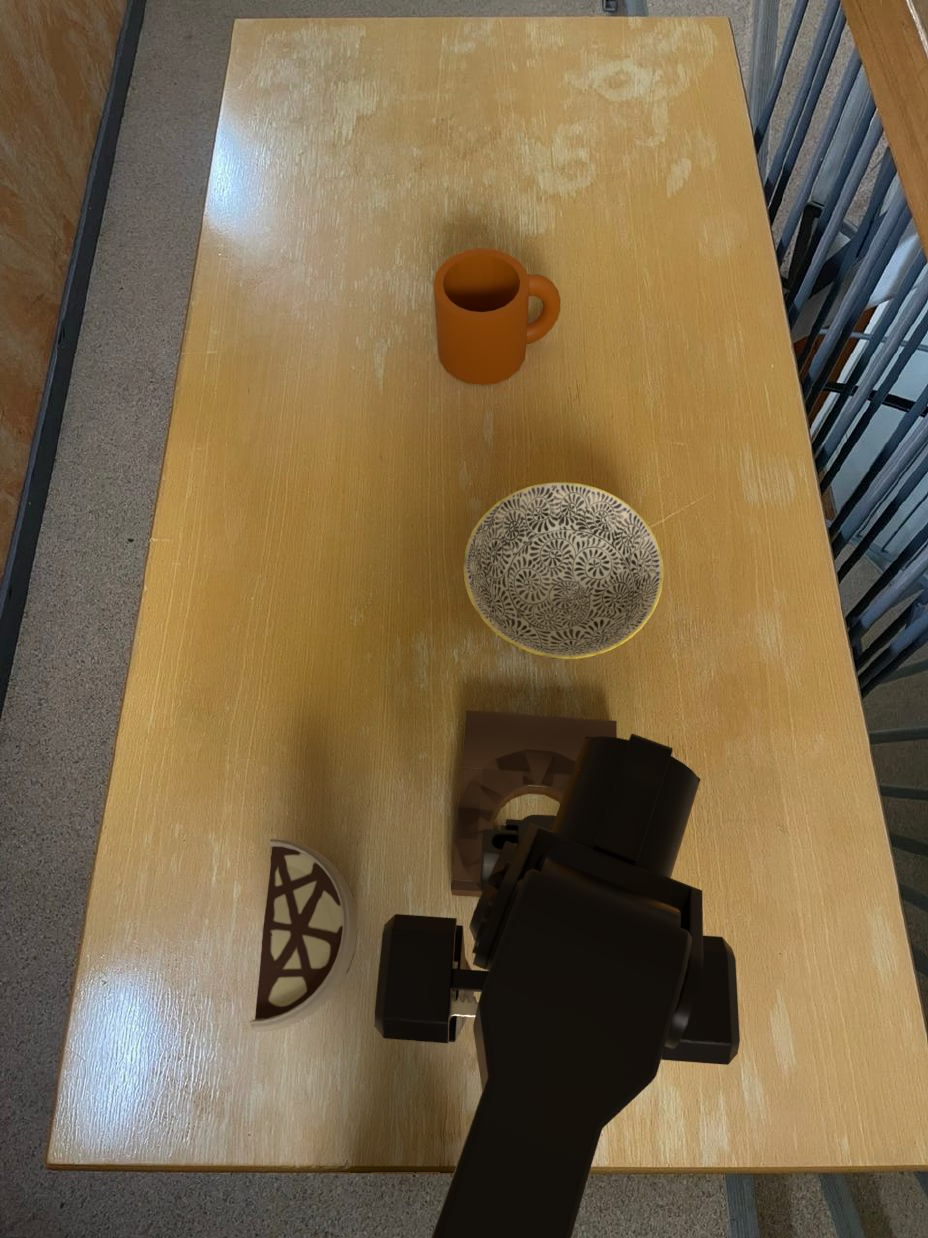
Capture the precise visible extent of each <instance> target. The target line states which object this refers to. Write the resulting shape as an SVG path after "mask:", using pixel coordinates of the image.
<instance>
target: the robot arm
mask: <svg viewBox="0 0 928 1238" xmlns="http://www.w3.org/2000/svg"><path fill="white" fill-rule="evenodd" d="M673 750H674V748H673V747H671V746H668V745H665V744H662V743H660V742H657V741H654V740H651V739H648V738H646V737H643V736H641V735H637V734H635V733H631V734H630V736H629V739H626V738H620V737H617V738H615V737H604V736H598V737H585V739H584V741H583V744H582V746H581V749H580V752H579V755H578V757H577V760H576V763H575V766H574V768H573V771H572V774H571V777H570V780H569V782H568V785H567V788H566V791H565V793H564V796H563V799H562V802H561V803H559V807H558V811H557V813H556V815H549V814H530V815H527V816H524V817H523V818H522V819H515V818H506V819H505V824H499V828H493V829H484V830H483V837H482V853H481V873H480V889H481V890H482V891H483V892H482V894H481V896H480V897H479V899H478V901H477V903H476V905H475V908H474V911H473V914H472V917H471V920H470V922H469V931H470V932H471V935H472V937H473V940H474V944H473V948H472V951H471V953H472V954H473V955H474V957H473V962H472V965H473V966H476V967H478V968H480V969H483V970H480V969H472V968H471V966H470V964H469V962H468V960H467V957H466V949H465V948H466V947H465V934H464V925H463V924H461V925H460V924H458V919H457V917H444V916H432V915H419V914H405V913H403V914H401V913H394V915H393V916H392V917H390V918H389V920H387V922H385V923H384V925H383V930H382V933H381V942H380V943H381V944H380V954H379V962H378V973H377V974H378V975H377V982H376V983H377V984H376V992H375V1002H374V1003H375V1004H374V1012H373V1014H374V1015H373V1016H374V1019H373V1023H374V1024H373V1027H374V1028H375V1029H376V1030H377V1032H378V1033H379V1034H380V1036H381V1037H382V1038H383V1039H385V1040H397V1041H410V1042H422V1043H423V1042H425V1043H435V1044H436V1043H437V1044H450V1043H456V1041H457V1039H458V1037H459V1035H460V1033H461V1031H462V1030H463V1027H464V1026H465V1024H466V1022H467V1020H468V1018H474V1019H473V1024H472V1028H473V1030H472V1031H473V1038H474V1044H475V1052H476V1058H477V1064H478V1072H479V1076H480V1085H481V1094H480V1096H479V1100H478V1103H477V1105H476V1108H475V1111H474V1114H473V1117H472V1119H471V1122H470V1125H469V1128H468V1131H467V1134H466V1137H465V1140H464V1142H463V1146H462V1148H461V1150H460V1154H459V1157H458V1160H457V1162H456V1164H455V1165H456V1166H455V1169H454V1170H453V1174H452V1177H451V1180H450V1183H449V1185H448V1187H447V1191H446V1194H445V1197H444V1199H443V1202H442V1206H441V1209H440V1211H439V1214H438V1217H437V1220H436V1223H435V1225H434V1228H433V1231H432V1234H431V1237H430V1238H572V1236H573V1233H574V1229H575V1225H576V1222H577V1218H578V1215H579V1211H580V1207H581V1203H582V1201H583V1196H584V1193H585V1189H586V1186H587V1181H588V1179H589V1174H590V1170H591V1168H592V1165H593V1162H594V1158H595V1154H596V1151H597V1148H598V1144H599V1142H600V1137H601V1134H602V1131H603V1129H604V1128H605V1127H606V1126H607V1125H608V1124H609V1123H610V1122H611V1121H612V1120H614V1118H615V1117H616V1116H618V1115H619V1114H620V1113H621V1112H622V1111H623V1110H625V1108H626V1107H627V1106H628V1105H629V1104H630V1103H631V1102H633V1101H634V1100H635V1098H636V1097H638V1096H639V1094H641V1093H642V1092H643V1091H644V1090H645V1089H646V1088H647V1087H648V1086H649V1085H650V1084H651V1083H652V1082H653V1081H654V1080H655V1078H656V1076H657V1074H658V1072H659V1068H660V1064H661V1061H670V1062H671V1061H672V1062H685V1063H697V1064H709V1065H722V1066H723V1065H725V1066H728V1065H730V1064H731V1062H732V1061H733V1060H734V1059H735V1058H736V1056H737V1055H738V1054H739V1050H740V1049H739V1048H740V1043H741V1036H740V1035H741V1033H740V1016H739V1015H740V1014H739V998H738V980H737V960H736V957H735V953H734V949H733V948H732V947H731V946H730V944H729V943H728V942H727V940H726V939H725V938H724V937H723V936H717V935H705V934H704V912H703V911H704V910H703V909H704V908H703V901H704V900H703V890H702V889H699V888H697V887H695V886H692V885H691V884H690V885H689V884H687V883H685V882H682V881H679V880H677V879H674V878H672V875H673V872H674V870H675V869H674V868H675V865H676V862H677V858H678V855H679V852H680V849H681V847H682V842H683V839H684V836H685V832H686V829H687V825H688V823H689V820H690V815H691V812H692V810H693V807H694V806H693V805H694V804H695V803H694V802H695V799H696V796H697V792H698V790H699V786H700V783H701V778H700V777H699V776H697V773H695V772H694V771H693V769H691V768H690V767H689V766H687V765H686V764H685V763H684V762H683V761H680V760H679V759H677V758H676V757H673V756H672V754H673ZM475 993H480V995H479V998H478V1000H477V998H476V996H474V995H475Z"/></svg>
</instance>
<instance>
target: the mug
mask: <svg viewBox="0 0 928 1238" xmlns="http://www.w3.org/2000/svg"><path fill="white" fill-rule="evenodd" d="M432 286H433V297H434V312H435V325H436V326H435V327H436V339H437V341H436V342H437V353H438V357H439V362H440V364H441V366H442V367H443V369H444V370H445V372H447V373H448V374H449V375H451V376H452V377H453V378H454V379H456V380H458V381H460V382H463V383H465V384H466V383H467V384H469V385H476V386H477V385H478V386H485V385H486V386H487V385H493V384H498V383H501V382H503V381H505V380H507V379H510V377H512V376H513V375H514V374H516V373H517V372H518V371H519V370H520V368H521V367H522V365H523V364H524V362H525V360H526V352H527V345H531V344H533V343H536V342H537V341H540V340H541V339H542V338H544V337H545V336H547V335H548V333H549V332H550V331H551V330H552V329H553V328H554V326H555V324H556V322H557V321H558V317H559V316H560V312H561V296H560V292H559V289H558V288H557V287H556V284H555V283H554V282H553V281H552V280H551V279H549V278H548V277H547V276H544V275H541V274H537V273H528V271H527V269H526V268H525V267H524V265H523V264H522V263H521V261H520V260H518V259H517V258H516V257H514V256H512V255H511V254H510V253H506V252H504V251H501V250H498V249H494V248H483V247H482V248H481V247H480V248H473V249H466V250H464V251H460V252H458V253H456V254H453V255H452V256H450V257H449V258H447V259H446V260H444V262H443V263H442V264H441V265H440V266H439V267H438V269H437V271H436V272H435V276H434V280H433V285H432ZM530 297H534V298H535V297H536V298H537V299H539V300H540V301H541V303H542V309H541V312H540V313H539V315H538V316H537V317H536V318H535V319H534V320H533V321H530V322H529V305H530V304H529V303H530Z"/></svg>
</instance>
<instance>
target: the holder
mask: <svg viewBox="0 0 928 1238" xmlns="http://www.w3.org/2000/svg"><path fill="white" fill-rule="evenodd" d="M617 723H618V721H617V720H609V719H608V720H606V719H595V718H594V719H590V718H580V717H579V718H576V717H565V716H563V717H562V716H549V715H535V714H519V713H507V712H506V713H505V712H492V711H477V710H466V711H465V720H464V729H463V730H464V732H463V744H462V754H461V757H462V758H461V768H460V776H459V777H460V779H459V789H458V790H459V791H458V793H459V794H458V801H457V803H456V805H455V809H454V810H455V811H454V812H455V813H454V822H453V833H452V841H453V848H454V850H453V860H452V862H453V863H452V873H451V885H450V891H451V895H452V896H460V897H470V898H471V897H472V898H480V896H481V894H482V892H483V891H482V890H481V889H480V873H481V853H482V837H483V830H484V829H494V823H495V821H496V819H497V818H498V815H499V814H500V812H501V809H502V808H504V807H505V806H507V804H508V803H510V802H511V801H512V800H513V799H516V798H519V797H522V796H525V795H543V796H545V797H548V798H550V799H553V800H554V801H556V802H558V803H559V804H561V802H562V799H563V796H564V793H565V791H566V788H567V785H568V782H569V780H570V777H571V774H572V771H573V768H574V766H575V763H576V760H577V757H578V755H579V752H580V749H581V746H582V744H583V741H584V739H585V737H598V736H604V737H615V738H618V737H617V735H618V734H617V733H618V730H617V729H618V728H617V727H618V724H617Z"/></svg>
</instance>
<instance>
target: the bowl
mask: <svg viewBox="0 0 928 1238" xmlns="http://www.w3.org/2000/svg"><path fill="white" fill-rule="evenodd" d="M462 565H463V566H462V570H463V571H462V573H463V580H464V585H465V589H466V592H467V595H468V597H469V598H468V599H469V600H470V602H471V604H472V606H473V608H474V609H475V612H476V613H477V614H478V616H479V617H480V618H481V620H482V622H483V623H485V624H486V625H487V626H488V627H489V629H491V631H493V632H494V633H495V634H496V635H498V636H499V637H500V638H501V639H503V640H504V641H506V642H507V643H508V644H510V645H512V646H513V647H516V648H518V649H519V650H522V651H525V652H528V653H530V654H532V655H534V656H538V657H542V658H547V659H553V660H575V659H585V658H589V657H594V656H598V655H603V654H604V653H607V652H609V651H612V650H614V649H615V648H618V647H619V646H621V645H623V644H625V643H626V642H627V641H630V639H632V638H633V637H634V636H635V635H636V634H638V633H639V631H641V629H642V628H643V627H644V626H645V625H646V623H647V622H648V621H649V619H650V618H651V616H653V613H654V612H655V610H656V608H657V605H658V603H659V600H660V599H661V595H662V591H663V585H664V578H665V577H664V576H665V573H664V572H665V571H664V570H665V568H664V559H663V555H662V552H661V549H660V545H659V542H658V540H657V538H656V536H655V533H654V532H653V531H652V529H651V527H650V526H649V524H648V522H647V521H646V520H645V519H644V518H643V517H642V515H641V514H640V513H639V512H638V511H637V510H636V509H634V507H632V506H631V505H630V504H629V503H627V502H626V501H624V500H623V499H621V498H619V497H618V496H616V495H615V494H612V493H610V492H608V491H606V490H603V489H601V488H599V487H595V486H592V485H588V484H584V483H580V482H571V481H553V482H545V483H538V484H534V485H531V486H530V485H529V486H528V487H524V488H521V489H519V490H515V492H514V491H513V492H511V493H510V494H508V495H507V496H505V497H504V498H502V499H500V500H499V501H498V502H496V503H495V504H494V505H492V506H491V507H490V508H489V509H488V510H487V511H486V512H485V513H484V514H483V515H482V516H481V518H480V519H479V520H478V522H477V523H476V525H475V526H474V528H473V529H472V531H471V533H470V535H469V538H468V540H467V542H466V546H465V549H464V554H463V563H462Z"/></svg>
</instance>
